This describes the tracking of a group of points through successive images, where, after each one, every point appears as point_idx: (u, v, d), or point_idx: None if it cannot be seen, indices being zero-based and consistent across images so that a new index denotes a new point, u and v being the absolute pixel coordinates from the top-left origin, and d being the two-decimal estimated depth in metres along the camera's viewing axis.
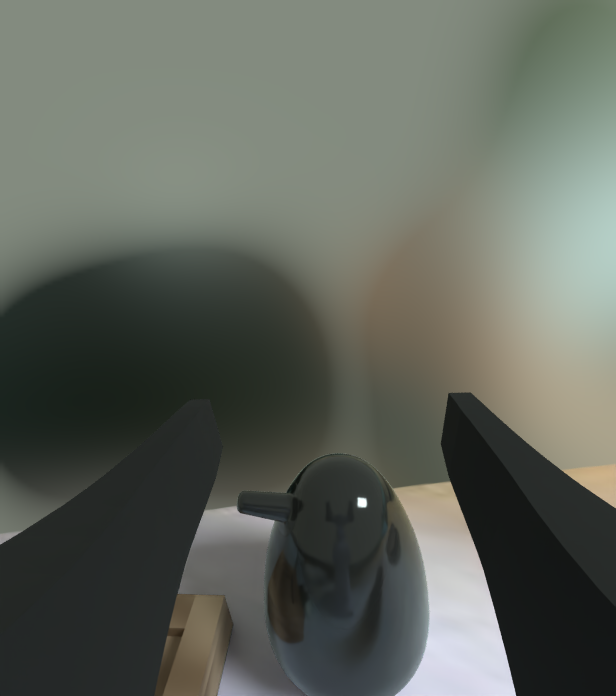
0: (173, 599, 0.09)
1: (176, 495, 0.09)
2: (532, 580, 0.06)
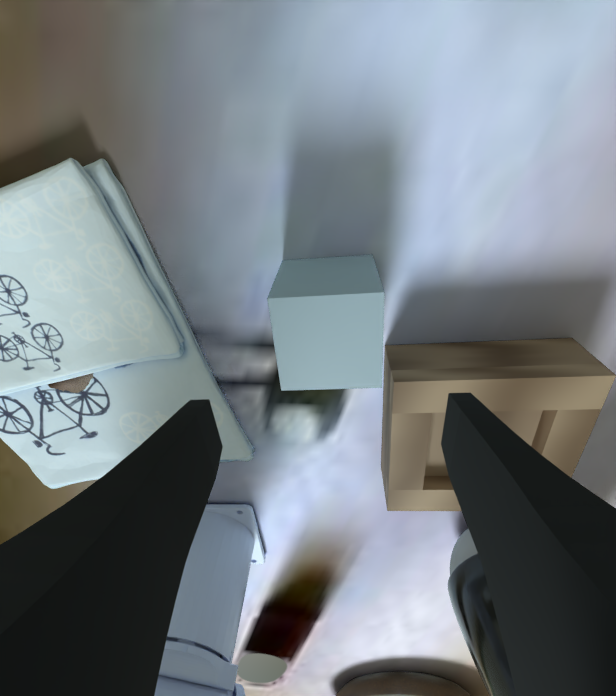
0: (173, 599, 0.09)
1: (176, 495, 0.09)
2: (532, 580, 0.06)
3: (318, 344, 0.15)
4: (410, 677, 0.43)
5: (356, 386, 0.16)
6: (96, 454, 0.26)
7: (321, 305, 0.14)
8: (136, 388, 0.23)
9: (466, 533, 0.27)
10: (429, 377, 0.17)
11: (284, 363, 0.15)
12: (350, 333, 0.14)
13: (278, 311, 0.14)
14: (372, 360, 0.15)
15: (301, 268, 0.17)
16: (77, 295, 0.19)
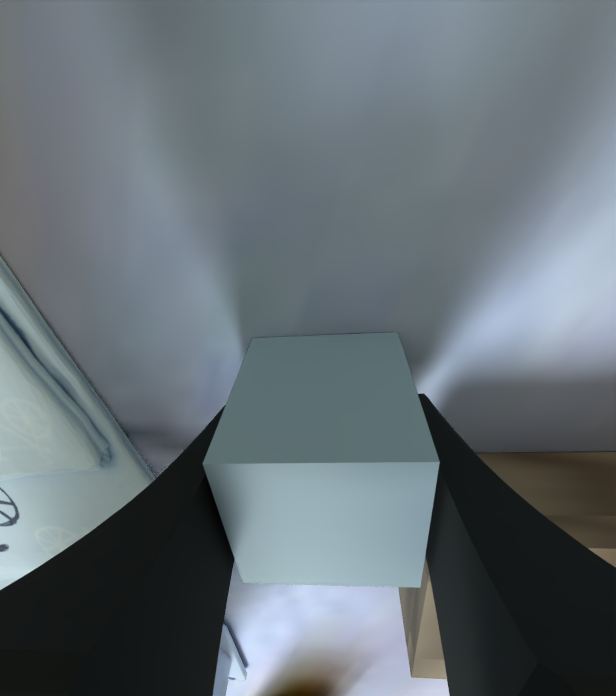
0: (224, 601, 0.08)
1: None
2: (456, 578, 0.06)
3: (307, 530, 0.08)
4: None
5: (374, 583, 0.09)
6: (11, 570, 0.19)
7: (311, 477, 0.07)
8: (51, 499, 0.16)
9: None
10: None
11: (245, 551, 0.08)
12: (367, 518, 0.08)
13: (226, 483, 0.07)
14: (407, 554, 0.08)
15: (279, 363, 0.10)
16: None
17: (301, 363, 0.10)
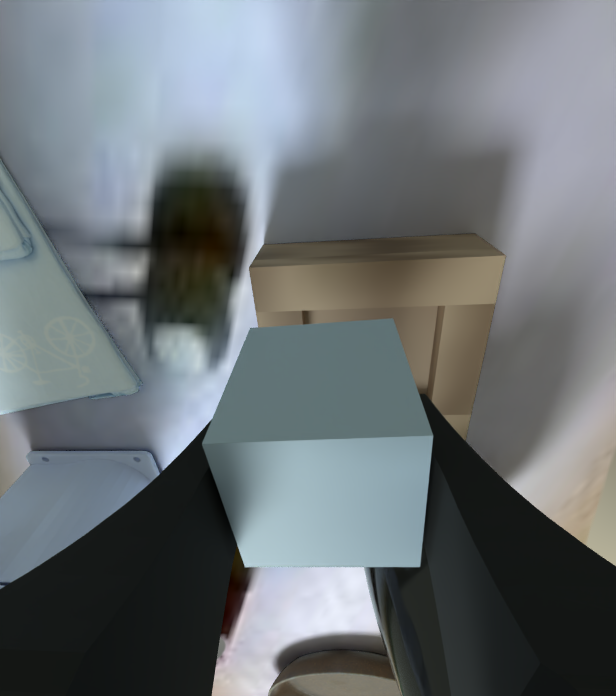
0: (224, 601, 0.08)
1: None
2: (458, 578, 0.06)
3: (306, 511, 0.08)
4: (353, 655, 0.40)
5: (374, 564, 0.09)
6: None
7: (308, 455, 0.07)
8: None
9: None
10: (292, 263, 0.15)
11: (246, 533, 0.09)
12: (365, 496, 0.08)
13: (225, 463, 0.07)
14: (405, 532, 0.08)
15: (277, 351, 0.10)
16: None
17: (298, 349, 0.10)
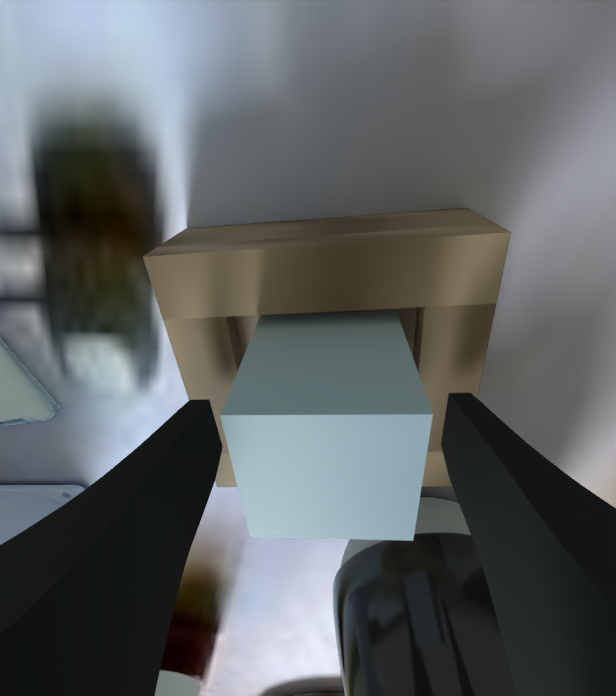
0: (173, 599, 0.09)
1: (176, 495, 0.09)
2: (532, 580, 0.06)
3: (311, 483, 0.09)
4: None
5: (371, 537, 0.10)
6: None
7: (317, 429, 0.08)
8: None
9: None
10: (205, 250, 0.10)
11: (254, 503, 0.09)
12: (366, 470, 0.08)
13: (240, 435, 0.08)
14: (402, 506, 0.09)
15: (287, 336, 0.11)
16: None
17: (307, 335, 0.11)
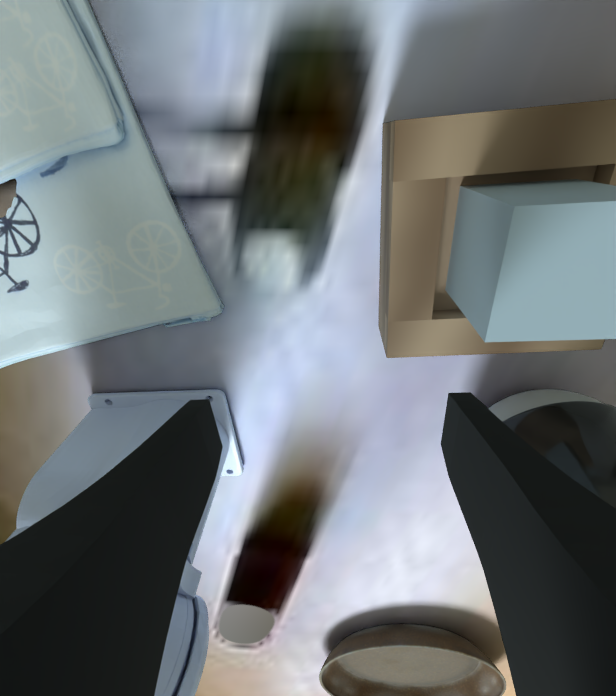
0: (173, 599, 0.09)
1: (176, 495, 0.09)
2: (532, 580, 0.06)
3: (560, 276, 0.11)
4: (412, 628, 0.38)
5: (587, 336, 0.12)
6: (29, 316, 0.21)
7: (587, 217, 0.10)
8: (70, 207, 0.18)
9: None
10: None
11: (503, 303, 0.12)
12: (610, 260, 0.11)
13: (522, 226, 0.10)
14: None
15: (503, 189, 0.13)
16: None
17: (520, 188, 0.13)
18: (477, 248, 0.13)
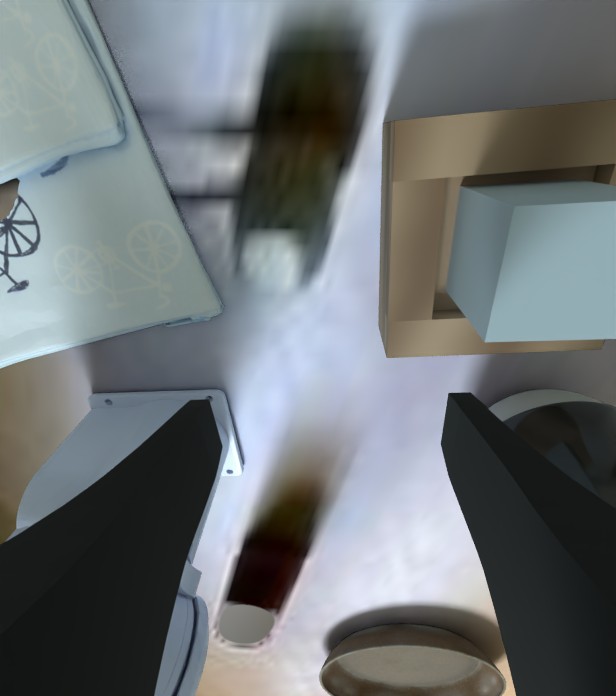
0: (174, 599, 0.09)
1: (176, 495, 0.09)
2: (532, 580, 0.06)
3: (560, 276, 0.11)
4: (412, 628, 0.38)
5: (587, 336, 0.12)
6: (29, 316, 0.21)
7: (586, 217, 0.10)
8: (71, 207, 0.18)
9: None
10: None
11: (503, 303, 0.12)
12: (610, 260, 0.11)
13: (522, 227, 0.11)
14: None
15: (503, 189, 0.13)
16: None
17: (520, 188, 0.13)
18: (476, 248, 0.13)
